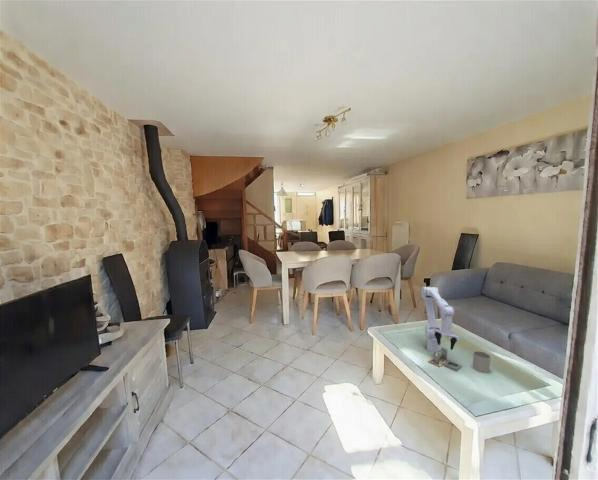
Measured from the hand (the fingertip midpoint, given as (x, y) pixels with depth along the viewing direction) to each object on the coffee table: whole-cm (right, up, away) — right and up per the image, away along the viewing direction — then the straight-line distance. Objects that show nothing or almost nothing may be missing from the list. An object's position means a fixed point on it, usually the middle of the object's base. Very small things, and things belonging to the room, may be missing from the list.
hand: (445, 346), depth 164 cm
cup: (+17, -12, -7) cm, 22 cm away
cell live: (-7, -10, -2) cm, 12 cm away
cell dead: (+2, -9, +5) cm, 11 cm away
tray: (-5, -10, -1) cm, 12 cm away
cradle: (+2, -11, -5) cm, 12 cm away
